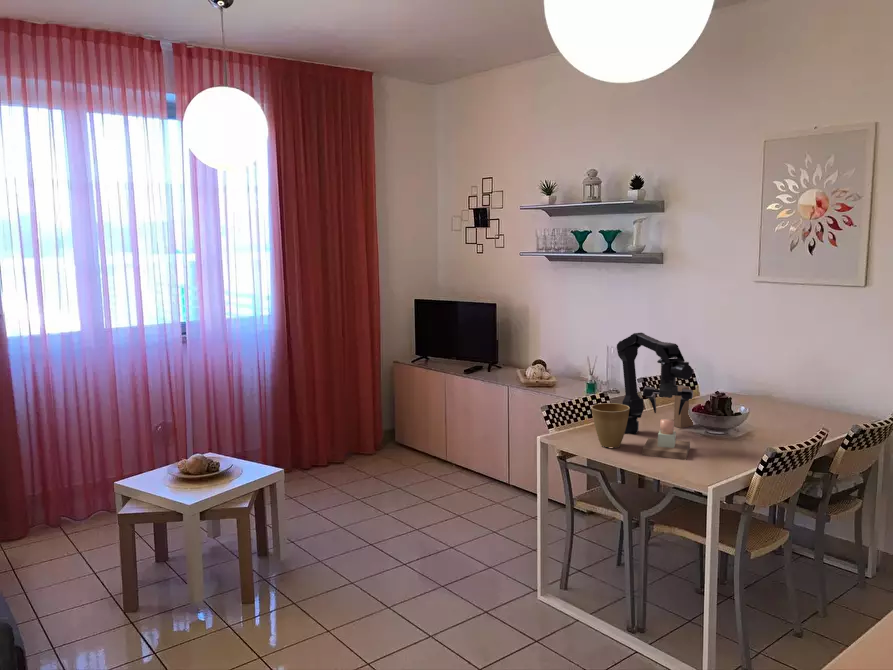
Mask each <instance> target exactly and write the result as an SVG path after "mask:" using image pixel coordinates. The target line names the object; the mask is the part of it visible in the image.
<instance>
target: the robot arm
mask: <svg viewBox="0 0 893 670" xmlns="http://www.w3.org/2000/svg"><path fill="white" fill-rule="evenodd" d="M641 347H645V348H646V349H649V350H651V351H654V352H655V355H656V356H658V358H659V359H658V360H657V363H658V364H660V383H659V389H656V388H655V386H645V387H644V388H643V390H642V396H644V397H645V398H646V399H648V400H649V401H650V403H651V406H652V409H653V413H654V414H657V402H656V401H657V400H656V395H659V398H669V399H671V398H672V397H673V396H674V397H675V396H681V400H680V407H679V415H680V413H681V410H682V408H683V405H684V403H685V401H689V402H690V400H693V398H694V391H693V389H690V388H689V389H683V390H682V391H678V386H679V385H677V382H676V380H677V379H680V380H686V381H688V380H690V379H691V378H692V376H693V373H694V370H693V368H692V366H691V365H690V362H689V361H685V357H684V356H683V354H682V352H681V350H680V348H679V345H678V344H676V343H673V342H668V341H667V342H664V341H661V340H658V339H656V338H654V337H652V336H650V335H647V334H645V333H644V332H634V333H632V334H631V335H629V336H627V337H626V338H623V339H621V340H620V341H619V342H618V343H617V344H616V350H617V355H618V357H619V358H620V360H621V361H622V369H623V370H622V371H623V382H624V394H625V395H624V397H623V400H622V403H621V404H623V405H627V406H629V407H630V409H629V416H628V421H627V426H626V430H625V433H624V434H628V433H634V434H633V435H637V433H638V432H639V430H640V427H639V425H640V421H639V420H638V419H641V418H642V416H643V413H644V409H645V405H644V399H643V398H642V397H640V396H639V393H638V383H637V372H636V363H635V361H636V358H637V356H638V355H639V354H638V353H639V351H638V350H639V348H641Z"/></svg>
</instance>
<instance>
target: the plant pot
mask: <svg viewBox="0 0 893 670" xmlns="http://www.w3.org/2000/svg"><path fill="white" fill-rule="evenodd" d="M590 408H591V414H592V419H593V424H594V425H593V426H594V428H595V432H596V434H597V435H596V436H597V438H598V441H599V443H600V446H601V445H602V446H605V447H613V448H612V449H615V448H614V447H618V448H620V447H621V444H622V442H623V439H624V436H625V434H626V433H625V430H626V426H627V421H628V416H629V409H630V407H629V406H627V405H623V404H622V403H612V402H606V403H603V402H602V403H596V404H593V405H592V406H591V407H590ZM602 446H601V447H602ZM605 447H604V448H605Z"/></svg>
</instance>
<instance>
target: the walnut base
mask: <svg viewBox="0 0 893 670" xmlns="http://www.w3.org/2000/svg"><path fill="white" fill-rule="evenodd" d="M690 448H691V442H690V441H685V440H677V439H676V441H675V446H674V448H668V447H658V438H655V437H654V438H653V437H648V438H647V440H646V441H645V444H644V446H643V447H642V456H646V455H647V456H648V457H656V456H657V458H665V457H666V459H667V458H668V459H675V460H676V459H677V460H685V459H686V460H687V458H688V455H689V452H690Z"/></svg>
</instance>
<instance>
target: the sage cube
mask: <svg viewBox="0 0 893 670" xmlns="http://www.w3.org/2000/svg"><path fill="white" fill-rule="evenodd" d="M676 432H677V431H676V430H674V433H673V434H670V435H667V434H662V433H660V430H659V431H658V433H657V439H658V447H668V448H674V446H675V441H676V440H677V438H676V437H677V433H676Z"/></svg>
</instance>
